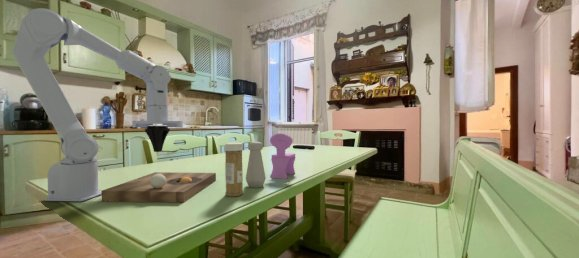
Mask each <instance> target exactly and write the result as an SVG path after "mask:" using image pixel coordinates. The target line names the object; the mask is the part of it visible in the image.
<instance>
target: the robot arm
mask: <svg viewBox="0 0 579 258" xmlns="http://www.w3.org/2000/svg"><path fill="white" fill-rule="evenodd" d="M62 41H64V42H63V45H64V46H81V47H84V48H86V49H89V50H90V51H93V52H95V53H97V54H99V55H101V56H104V57H105V58H107V59H110V60H112V61H114V62H115V64H116V66H117V67H118V68H119V69H120V70H122V71H124V72H126V73H128V74H130V75H132V76H134V77H137V78H138V79H141V80H143V82H144V83H145V84H146V89H145V92H146V93H145V94H146V95H145V97H146V99H145V100H146V105H145V106H146V120H132V121H131V123H132V125H131V127H132V128H145V129H144V132H145V134H146V135H147V136H148V138H149V140H150V143H151V145H152V146H151V147H152V149H153V152H154V153H160V152H163V148H164V144H165V141H166V138H167V136H168V134H169V132H170V131H171V128H183V121H182V120H169V107H168V105H169V97H168V96H169V95H168V94H169V92H168V84H169V83H170V82H171V78H172V76H171V75H170V73H169V70H167V68H166V67H165V66H162V65H158V64H157V65H155V64H156V63H155V62H154V61H152V60H151V61H150V60H148V59H146V58H144V57H143V56H140V55H139V52H138V51H136V50H129V49H126V50H125V49H124V50H121V49H119V47H116V46H115V45H112V44H111V43H109V42H107V41H106V40H105V39H103V38H101V37H99V36H97V35H96V34H94V33H92V32H90V31H89V30H87V29H85V28H84V27H83V26H81V25H79V24H77V23H76V22H75V21H73V20H72V19H70V18H68V17H65V16H61V15H60V14H58V13H57V12H56V11H55V10H51V9H49V8H45V7H44V8H43V7H38V8H37V7H36V8H33V9H31V11H29V12H28V13H27V14H25V15H24V17H23V18H22V19H21V20H20V24H19V29H18V32H17V34H16V37H15V41H14V44H13V48H12V55H13V58H14V59H15V61H16V63H17V64H18V66H19V68H20V70H21V72H22V73H23V75H24V77H25V78H26V80H27V82H28V84H29V85H30V87H31V89H32V91H33V92H34V94H35V96H36V98H37V100H38V101H39V103H40V104H41V107H42V108H43V110H44V111H45V113H46V115H47V117H48V118H49V120H50V122H51V123H52V126H53V127H54V129H55V132H56V133H57V136H58V138H59V140H60V150H61V153H63V155H64V156H63V157H62V159H60V161H58V162H56V163H53V164H52V165H51V166H50V168H49V169H48V171H47V197H46V198H45V199H44V201H45V202H83V201H84V202H85V201H87V200H90V199H92V198H96V197H97V196H102V190H99V162H98V161H99V160H98V159H99V158H98V157H96V155H97V154H98V152H99V144H98V142H97V141H96V140H95V138H93V137H91V136H90V135H89V134H88V133H87V132H86V129H85V128H84V126H83V125H82V124H81V122H80V121H79V119H78V118H77V116H76V113H75V112H74V110H73V108H72V106H71V105H70V103H69V101H68V99H67V97H66V96H65V94H64V92H63V90H62V88H61V86H60V85H59V82H58V80H57V79H56V77H55V75H54V73H53V71H52V70H51V68H50V65H49V64H48V62H47V60H46V58H45V57H46V56H47V54H48V53H49V51H50V49H52V48H54V47H56V46H57V45H58V44H60V42H62ZM154 124H155V125H154ZM157 124H159V125H157Z"/></svg>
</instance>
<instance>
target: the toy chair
mask: <svg viewBox="0 0 579 258" xmlns="http://www.w3.org/2000/svg"><path fill="white" fill-rule="evenodd" d="M293 141H294V140H293V138H292V137H291V135H289V134H285V133H283V132H281V133H275V134H273V135H271V137H270V139H269V142H270V144H271V145H272V146H273V147H274V148H275V149H276V153H275V154H271V159H270V161H271V164H272V171H271V173H270V176H269V178H270V179H271V178H272V179H273V178H274V179H284V180H285V179H286V180H287V179H288V176H287V174H288V175H296V171H295V166H294V165H295V161H296V153H286V150H287V149H288V148H290V147H291V145H292V144H293Z"/></svg>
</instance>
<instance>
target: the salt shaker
mask: <svg viewBox="0 0 579 258" xmlns="http://www.w3.org/2000/svg"><path fill="white" fill-rule="evenodd" d="M263 147H264V145H263V142H260V141H250V142H249V143H248V145H247V149H248V150H249V155H248V162H247V168H246V174H245V175H246V176H245V182H246V184H247V186H248V188H249V187H250V188H262V187H263V186H264V184H265V181H266V179H267V177H266V173H265V168H264V162H263V156H262V150H263Z"/></svg>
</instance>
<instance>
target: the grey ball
mask: <svg viewBox="0 0 579 258" xmlns="http://www.w3.org/2000/svg"><path fill="white" fill-rule="evenodd" d="M165 183H166V178H165V176H164V175H162V174H156V175H154V176H152V178H151V180H150V184H151V186H152V187H154V188H161V187H163V186H164V185H165Z"/></svg>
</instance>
